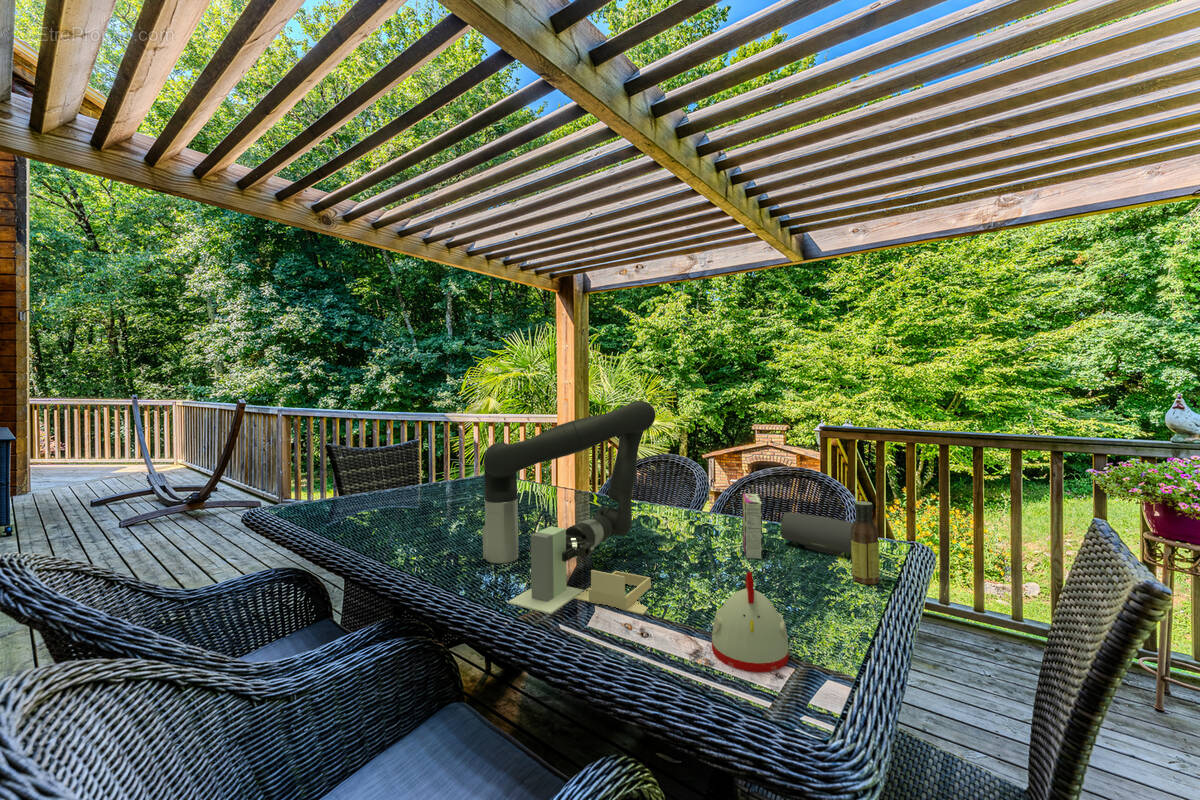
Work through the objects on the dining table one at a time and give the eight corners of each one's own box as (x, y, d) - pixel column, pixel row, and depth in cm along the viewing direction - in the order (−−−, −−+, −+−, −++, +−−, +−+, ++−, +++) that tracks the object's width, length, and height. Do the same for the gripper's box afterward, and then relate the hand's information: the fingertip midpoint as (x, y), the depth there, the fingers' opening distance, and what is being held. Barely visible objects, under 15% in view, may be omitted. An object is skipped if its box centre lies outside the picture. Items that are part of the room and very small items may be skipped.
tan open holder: (574, 598, 124) (573, 567, 123) (608, 574, 138) (608, 546, 138) (642, 614, 115) (642, 580, 115) (671, 587, 130) (671, 557, 129)
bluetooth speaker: (869, 555, 152) (870, 520, 151) (859, 563, 145) (859, 527, 144) (792, 539, 167) (792, 507, 167) (779, 546, 160) (779, 513, 160)
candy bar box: (741, 546, 160) (742, 493, 160) (759, 547, 159) (759, 493, 159) (744, 559, 149) (744, 501, 149) (762, 560, 148) (763, 502, 148)
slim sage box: (531, 598, 123) (530, 534, 123) (551, 586, 130) (550, 526, 130) (547, 602, 121) (546, 537, 120) (566, 589, 128) (565, 528, 127)
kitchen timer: (711, 668, 94) (711, 585, 93) (711, 631, 107) (711, 558, 107) (794, 676, 91) (794, 591, 90) (783, 637, 105) (783, 563, 104)
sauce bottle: (877, 577, 134) (878, 500, 134) (881, 587, 129) (882, 506, 128) (849, 574, 137) (849, 499, 136) (852, 583, 131) (852, 504, 130)
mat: (507, 603, 122) (507, 601, 122) (543, 582, 134) (543, 580, 134) (550, 614, 116) (550, 612, 116) (583, 591, 128) (583, 589, 128)
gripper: (561, 518, 143) (524, 534, 128) (607, 525, 135) (573, 543, 121) (561, 546, 143) (524, 565, 129) (607, 554, 136) (573, 575, 122)
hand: (548, 554), depth 125 cm, fingers open, 8 cm apart
